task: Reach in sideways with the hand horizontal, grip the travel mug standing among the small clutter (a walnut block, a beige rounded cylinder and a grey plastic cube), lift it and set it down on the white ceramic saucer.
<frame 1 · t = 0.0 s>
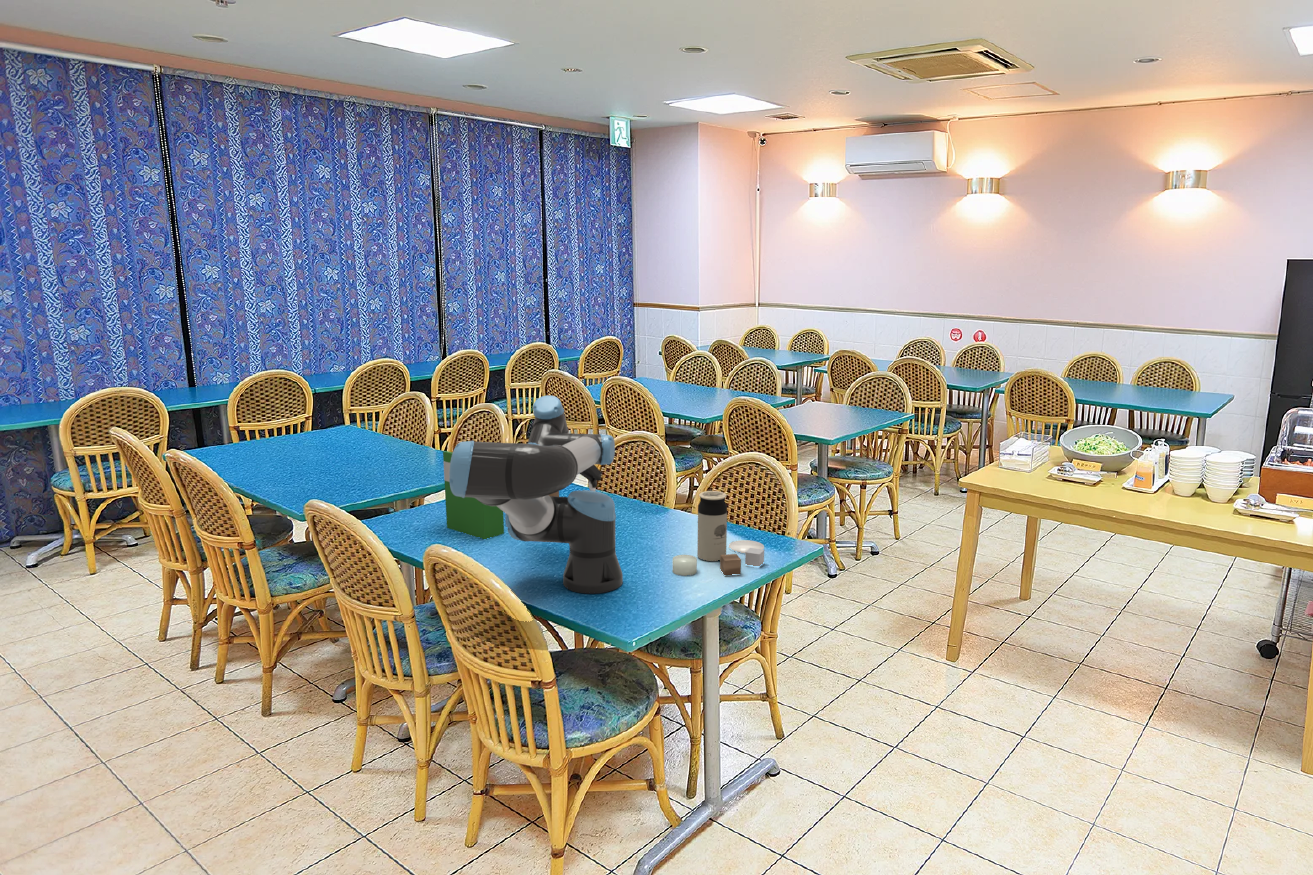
hand: (570, 492, 247), 15 cm above the table, tool tilted 35°, fingers open, 13 cm apart
travel mug: (711, 557, 239), on the table
saucer: (746, 547, 246), on the table
beige rounded cylinder: (684, 571, 228), on the table
walnut block: (730, 572, 227), on the table
hardback book: (475, 531, 261), on the table
grey cube: (754, 565, 233), on the table
block: (541, 521, 271), on the table
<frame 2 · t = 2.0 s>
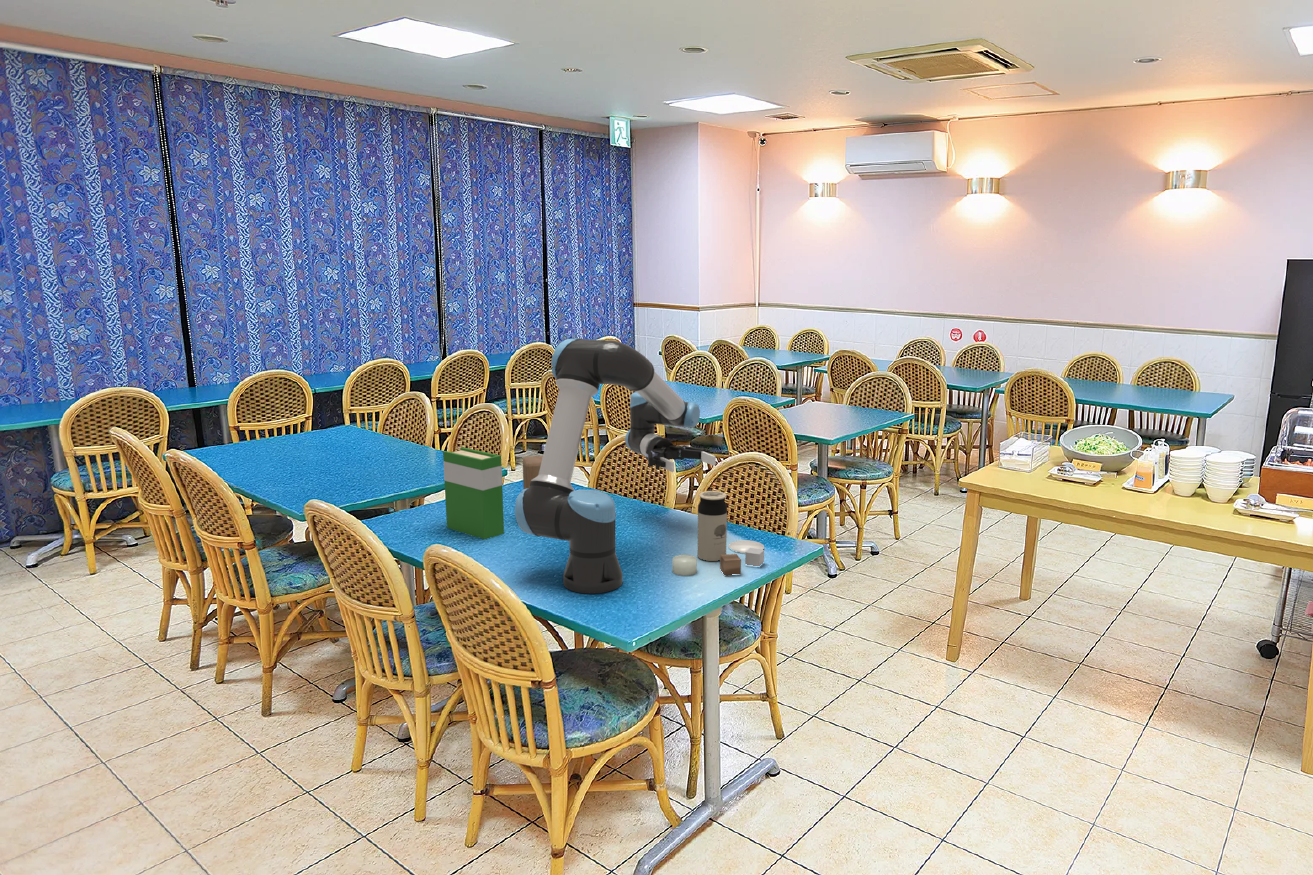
hand: (694, 464, 242), 24 cm above the table, tool horizontal, fingers open, 13 cm apart
nothing on the table moved.
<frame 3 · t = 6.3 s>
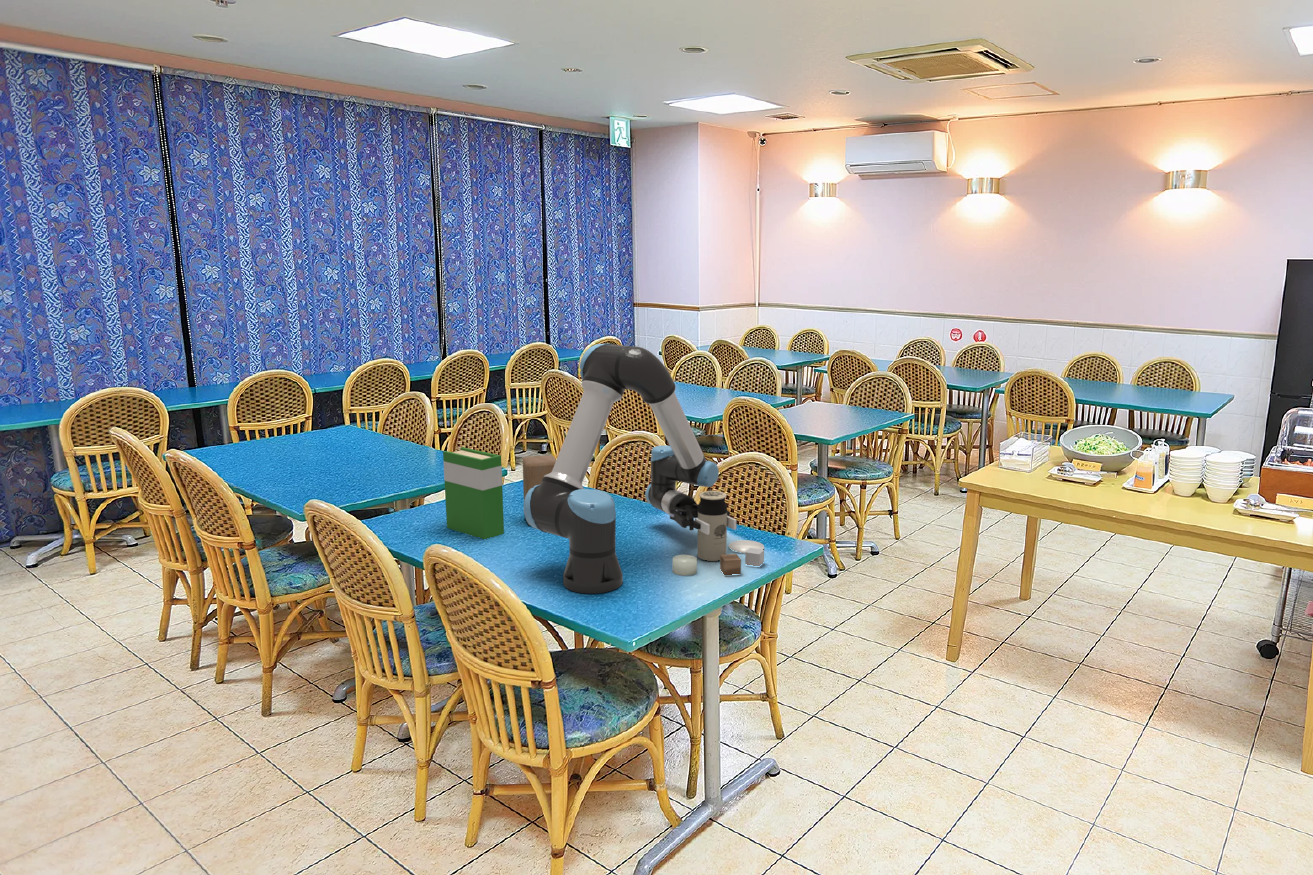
hand: (721, 527, 232), 10 cm above the table, tool horizontal, fingers closed on travel mug, 8 cm apart
travel mug: (711, 557, 239), on the table, touching gripper
everything else where it was.
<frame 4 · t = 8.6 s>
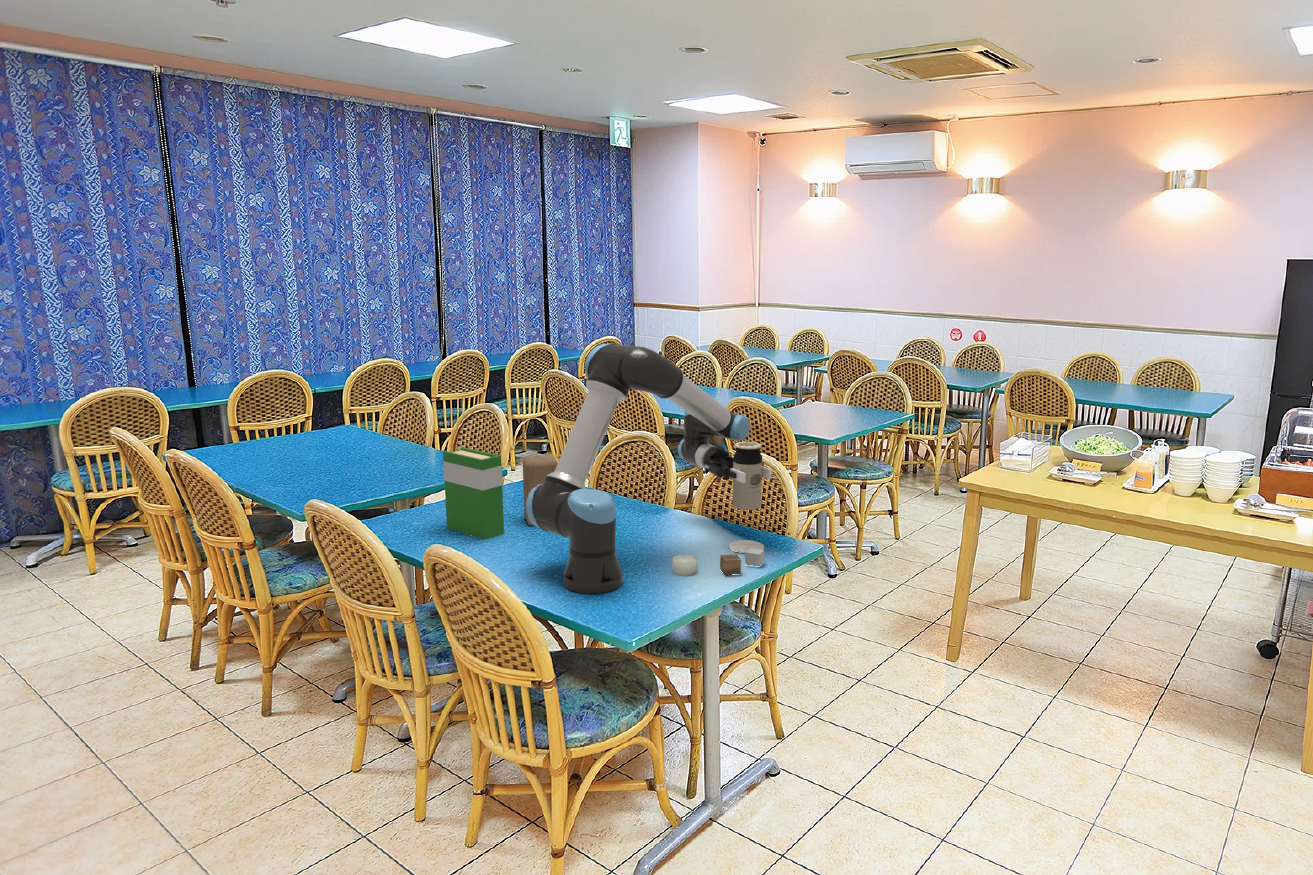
hand: (757, 476, 237), 22 cm above the table, tool horizontal, fingers closed on travel mug, 8 cm apart
travel mug: (746, 507, 243), point 12 cm above the table, touching gripper
everything else where it was.
when the fingers open (11 cm above the table, at t = 11.0 s): travel mug stays where it is, resting on saucer.
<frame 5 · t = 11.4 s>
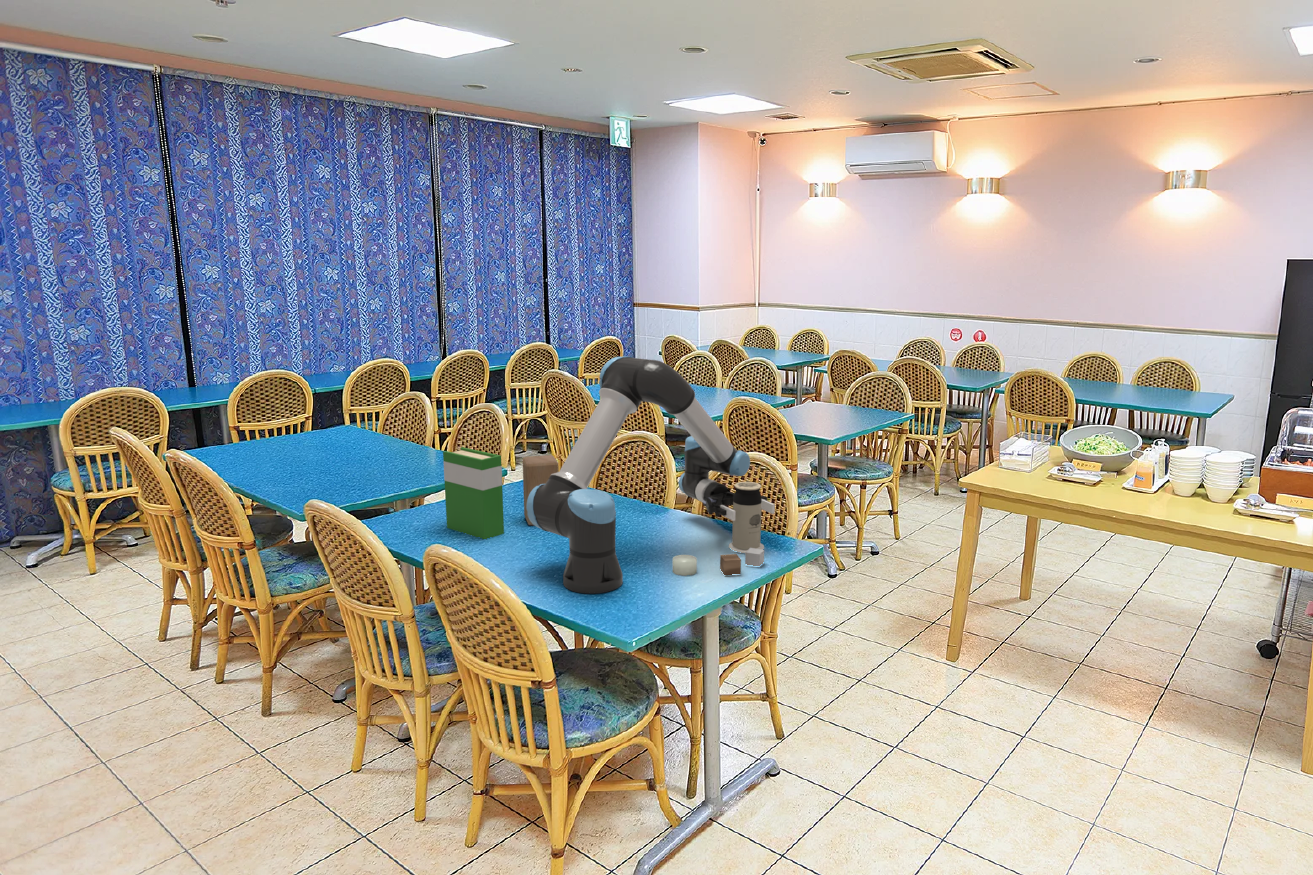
hand: (754, 512, 240), 11 cm above the table, tool horizontal, fingers open, 13 cm apart
travel mug: (746, 546, 246), resting on saucer
everything else where it was.
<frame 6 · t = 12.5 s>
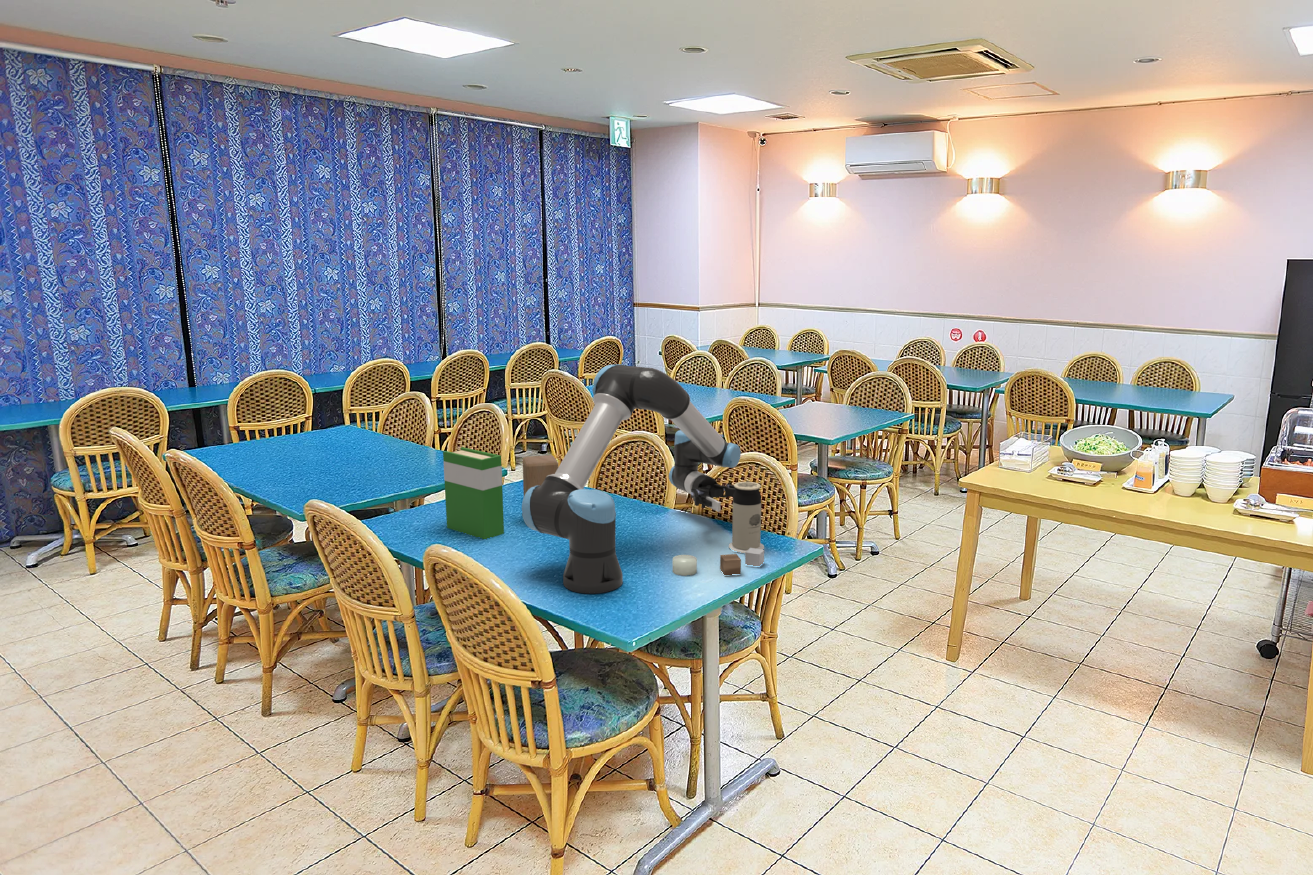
hand: (739, 503, 247), 12 cm above the table, tool horizontal, fingers open, 13 cm apart
nothing on the table moved.
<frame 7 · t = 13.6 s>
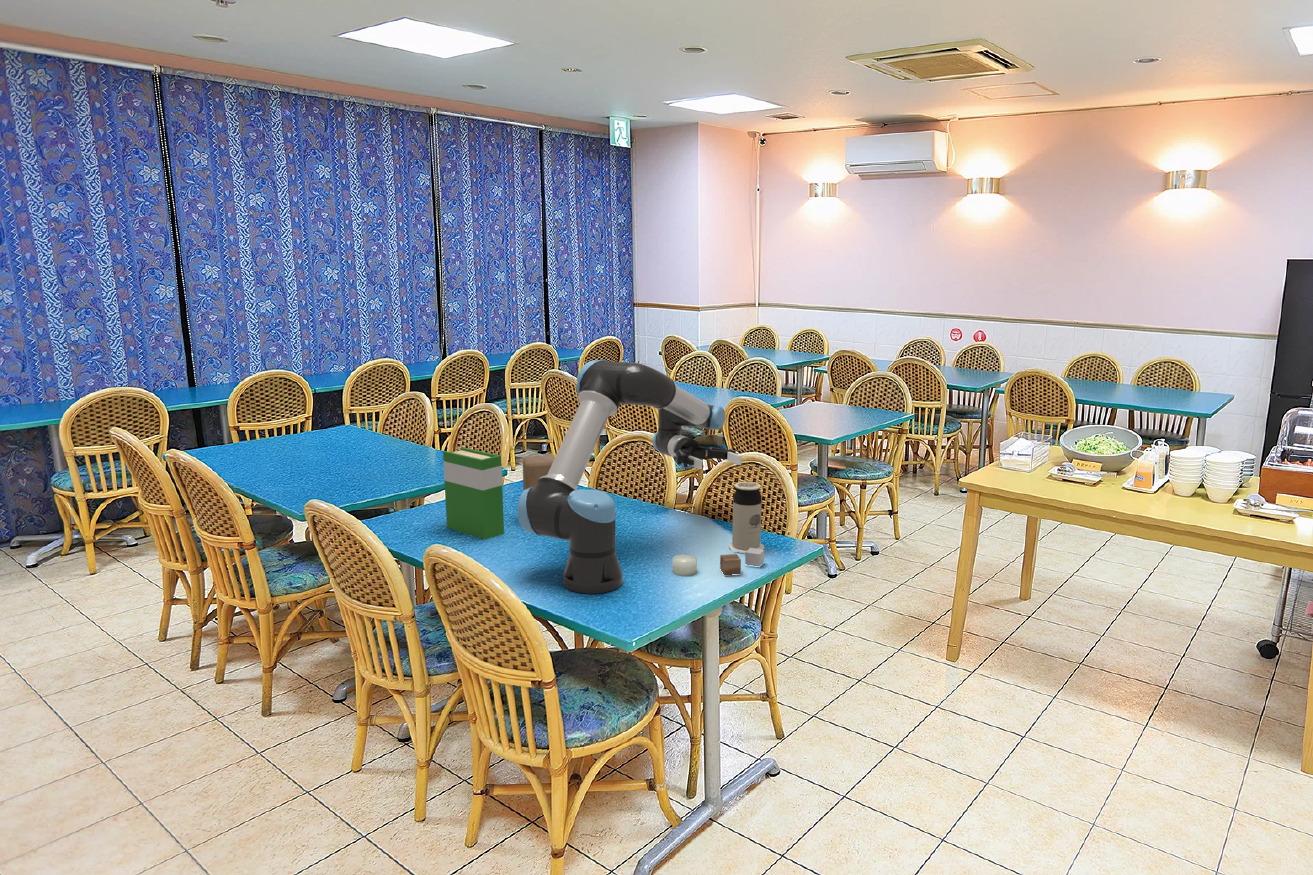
hand: (721, 462, 251), 23 cm above the table, tool horizontal, fingers open, 13 cm apart
nothing on the table moved.
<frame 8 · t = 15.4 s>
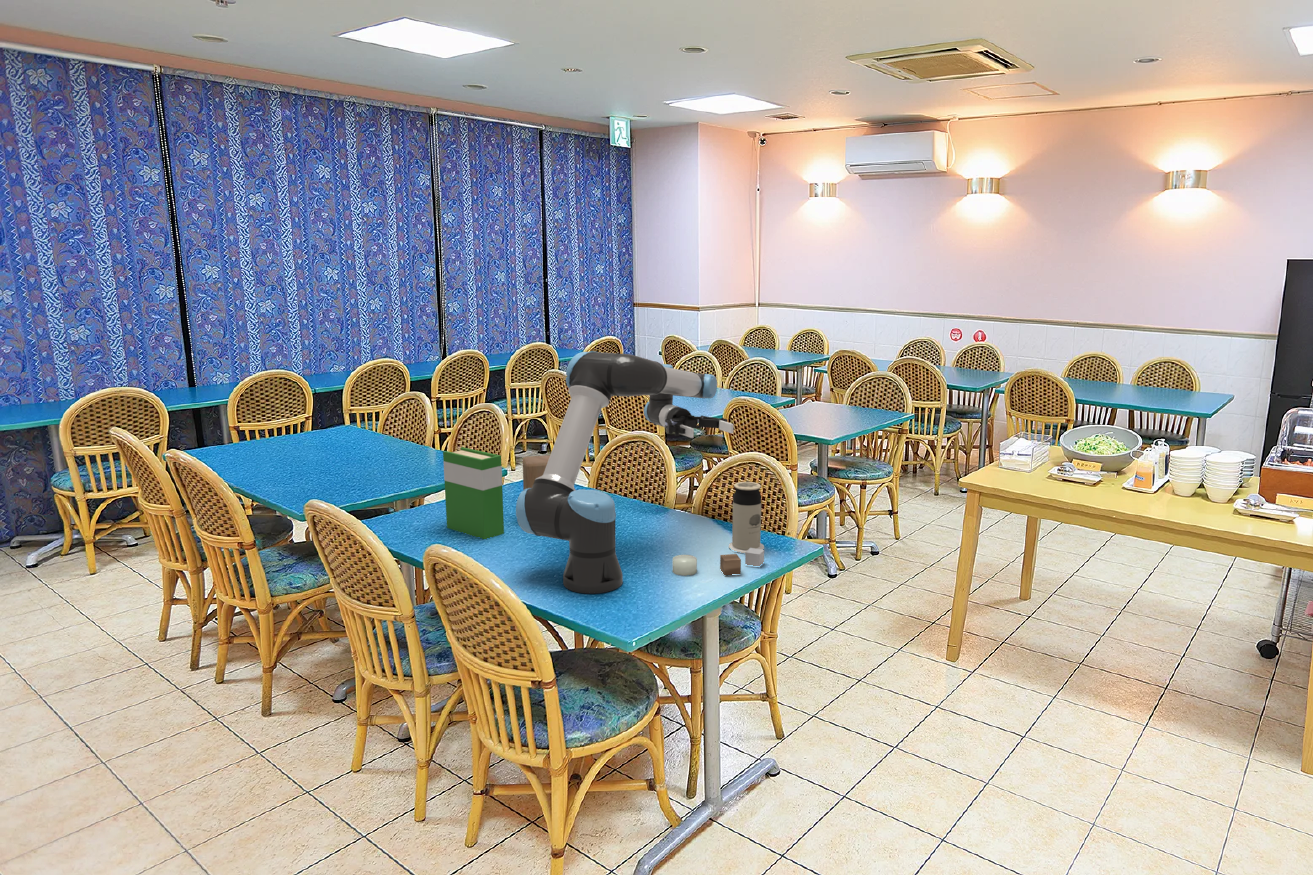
hand: (712, 431, 249), 32 cm above the table, tool horizontal, fingers open, 13 cm apart
nothing on the table moved.
at the end: travel mug 0.1 cm from the saucer (horizontally); travel mug tilted 0°; the gripper is holding nothing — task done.
